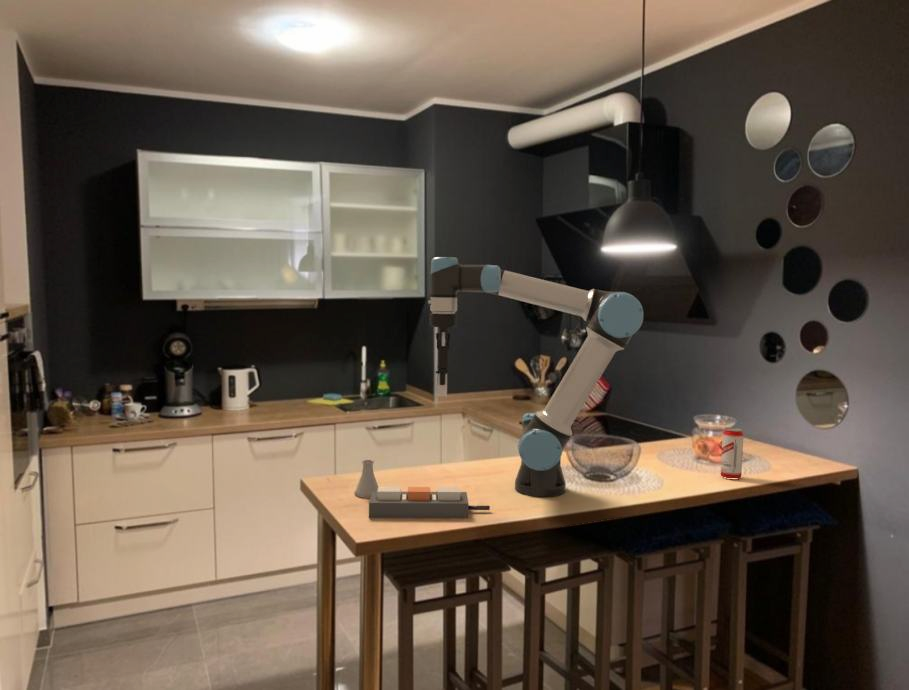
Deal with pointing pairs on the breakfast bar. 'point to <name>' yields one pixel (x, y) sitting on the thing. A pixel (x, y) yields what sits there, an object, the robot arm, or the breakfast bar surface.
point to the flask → (366, 480)
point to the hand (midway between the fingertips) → (442, 395)
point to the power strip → (421, 507)
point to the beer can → (732, 453)
